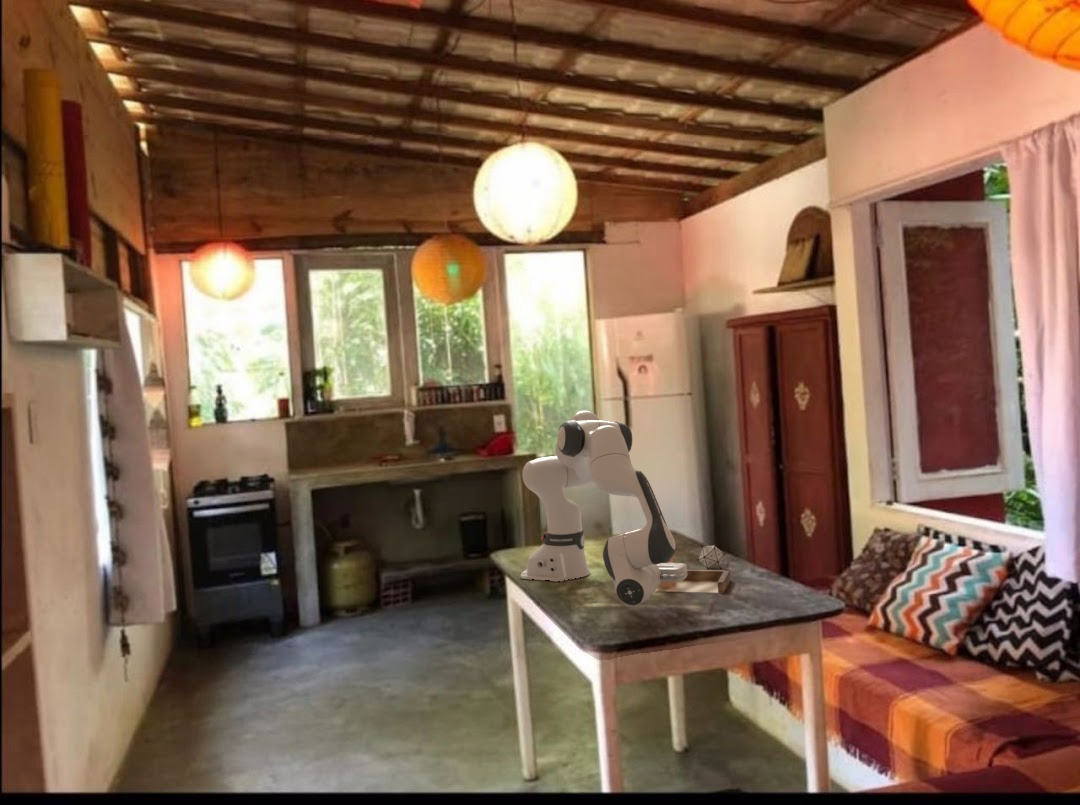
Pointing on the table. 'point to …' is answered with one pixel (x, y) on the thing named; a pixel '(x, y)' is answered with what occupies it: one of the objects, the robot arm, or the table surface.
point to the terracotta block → (668, 584)
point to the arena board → (701, 582)
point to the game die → (711, 557)
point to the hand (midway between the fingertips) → (655, 565)
